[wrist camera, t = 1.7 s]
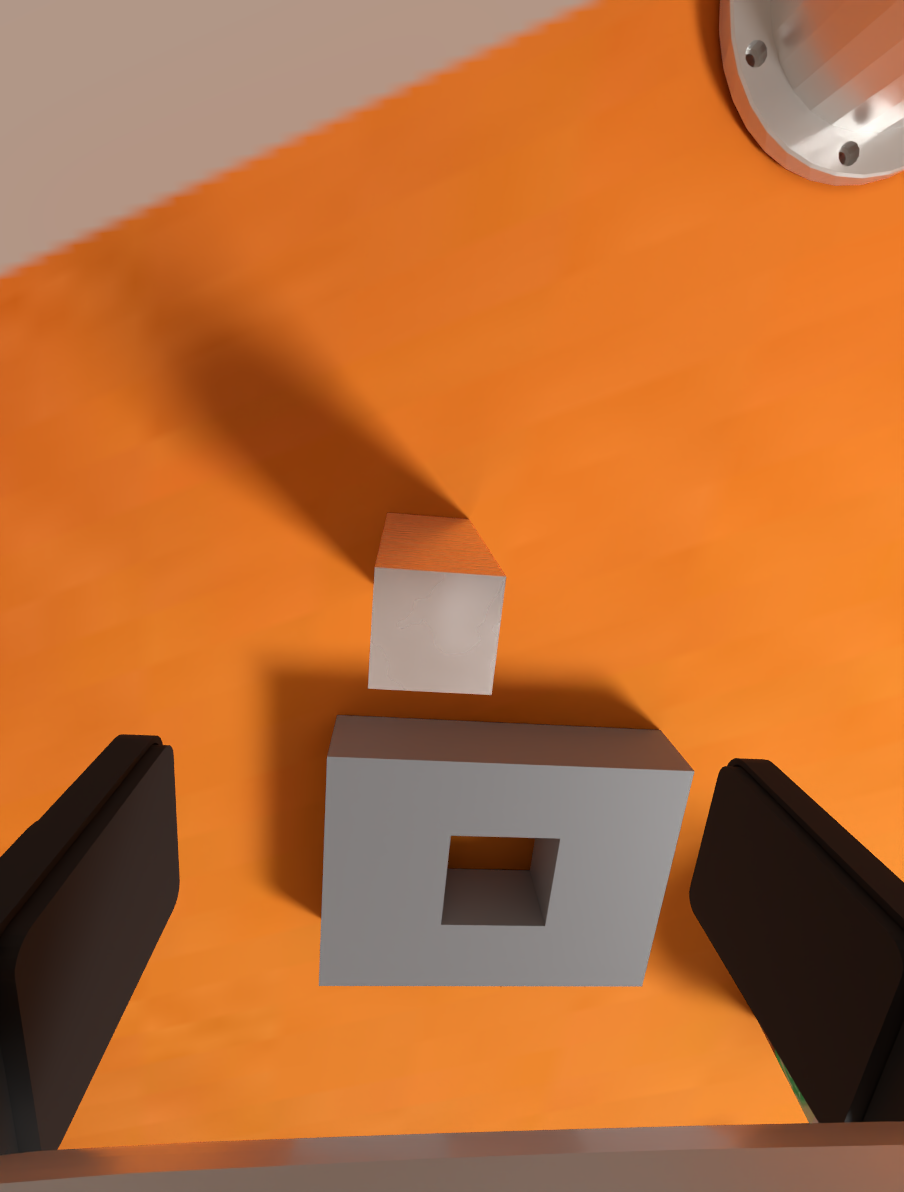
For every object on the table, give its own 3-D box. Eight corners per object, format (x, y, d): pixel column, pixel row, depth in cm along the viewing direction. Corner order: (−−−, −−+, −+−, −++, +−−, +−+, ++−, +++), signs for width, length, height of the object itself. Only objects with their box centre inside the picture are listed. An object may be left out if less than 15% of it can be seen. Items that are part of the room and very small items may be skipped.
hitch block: (337, 714, 31) (327, 756, 27) (660, 730, 32) (694, 771, 28) (328, 923, 34) (318, 985, 31) (617, 926, 36) (641, 986, 32)
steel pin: (387, 512, 28) (374, 567, 17) (469, 519, 28) (506, 576, 18) (382, 591, 29) (367, 688, 18) (461, 596, 29) (491, 694, 19)
